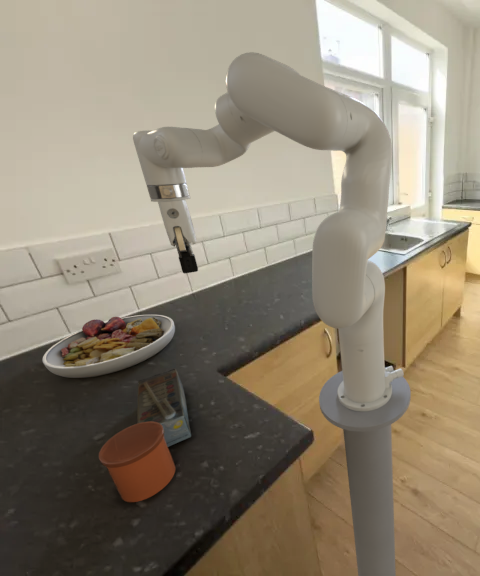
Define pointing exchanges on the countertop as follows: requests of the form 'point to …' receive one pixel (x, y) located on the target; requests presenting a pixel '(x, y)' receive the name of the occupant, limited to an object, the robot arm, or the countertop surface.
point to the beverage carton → (164, 405)
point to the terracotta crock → (138, 461)
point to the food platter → (109, 346)
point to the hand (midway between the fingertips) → (190, 271)
